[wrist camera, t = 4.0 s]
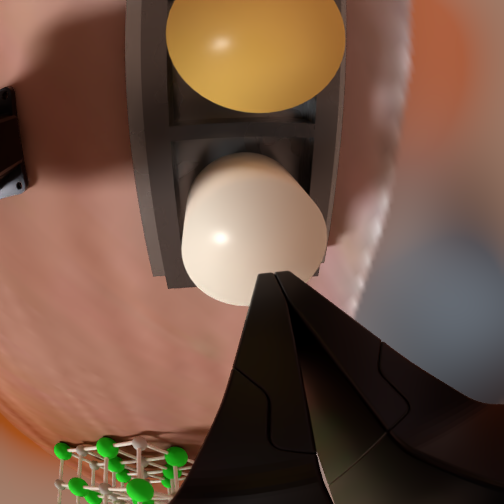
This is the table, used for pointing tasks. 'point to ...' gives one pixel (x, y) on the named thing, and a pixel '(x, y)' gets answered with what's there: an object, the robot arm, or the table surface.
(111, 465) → the molecular structure model
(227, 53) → the amber button
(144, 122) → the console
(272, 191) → the ivory button
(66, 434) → the table surface
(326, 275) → the table surface
